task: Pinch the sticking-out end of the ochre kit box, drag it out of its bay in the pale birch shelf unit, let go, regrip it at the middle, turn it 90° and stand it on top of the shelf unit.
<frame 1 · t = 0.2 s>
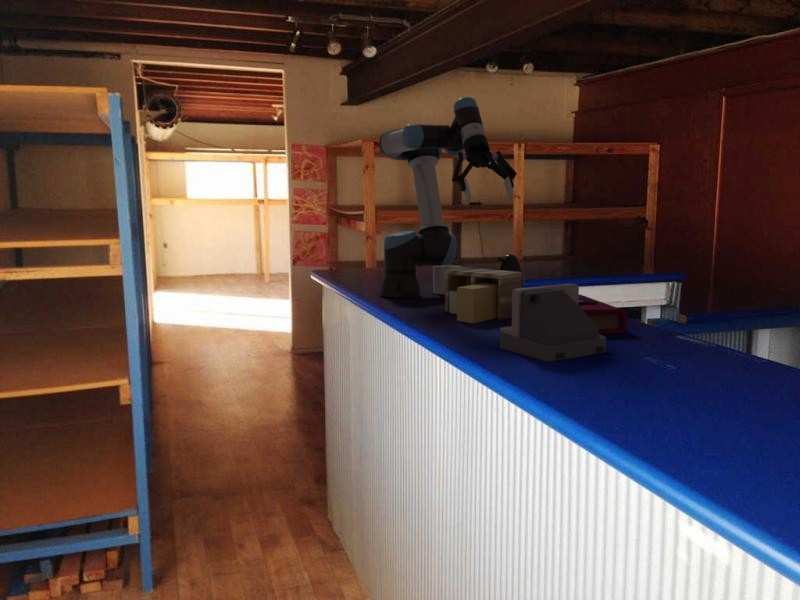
hand: (490, 198, 205), 35 cm above the counter, tool tilted 35°, fingers open, 13 cm apart
shelf unit: (481, 313, 213), on the counter
book: (568, 327, 194), on the counter
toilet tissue: (448, 293, 259), on the counter
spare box: (464, 312, 216), on the counter
kit box: (483, 318, 206), on the counter
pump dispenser: (509, 296, 250), on the counter
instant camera: (552, 351, 163), on the counter
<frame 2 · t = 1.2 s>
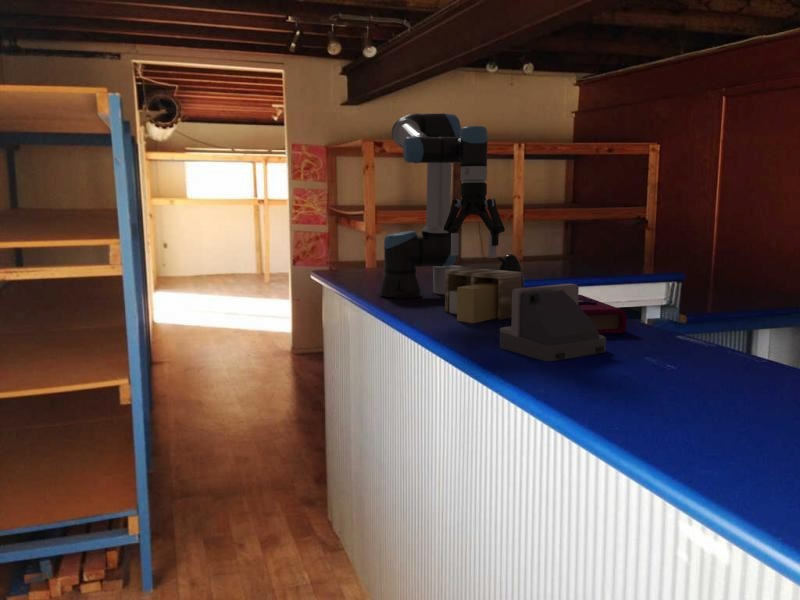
hand: (473, 256, 199), 19 cm above the counter, tool pointing down, fingers open, 13 cm apart
nothing on the counter moved.
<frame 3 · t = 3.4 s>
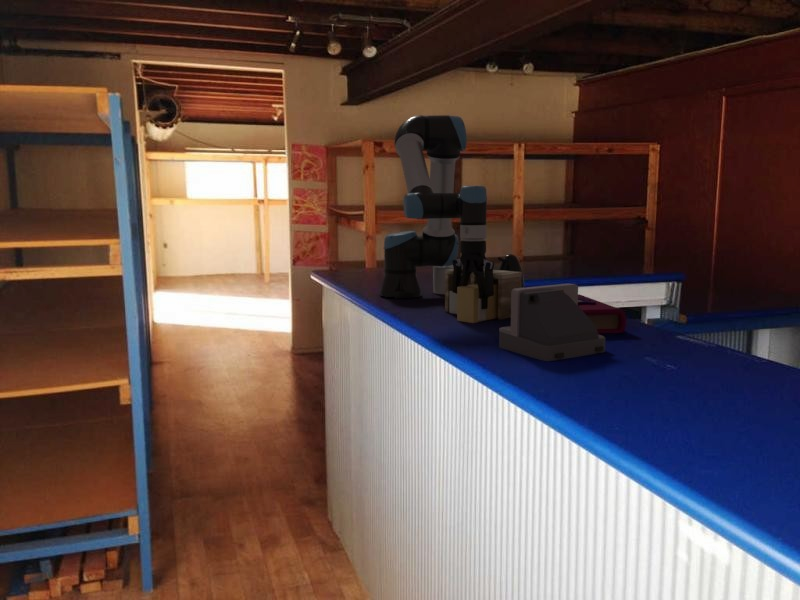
hand: (472, 318, 202), 0 cm above the counter, tool pointing down, fingers closed on kit box, 6 cm apart
kit box: (483, 317, 206), on the counter, touching gripper
everything else where it was.
when the fingers open (0 cm above the counter, at t = 6.1 s): kit box stays where it is, on the counter.
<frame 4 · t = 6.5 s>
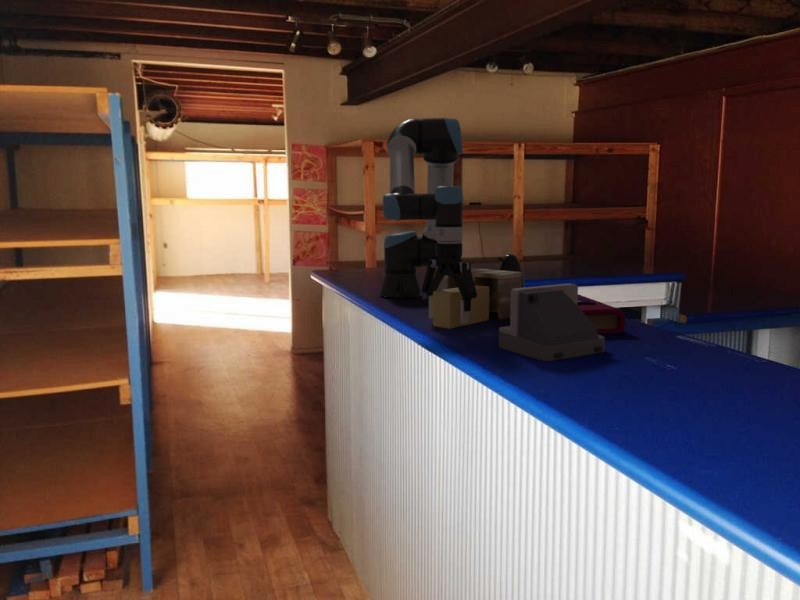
hand: (448, 320, 194), 1 cm above the counter, tool pointing down, fingers open, 11 cm apart
kit box: (461, 323, 198), on the counter
everything else where it was.
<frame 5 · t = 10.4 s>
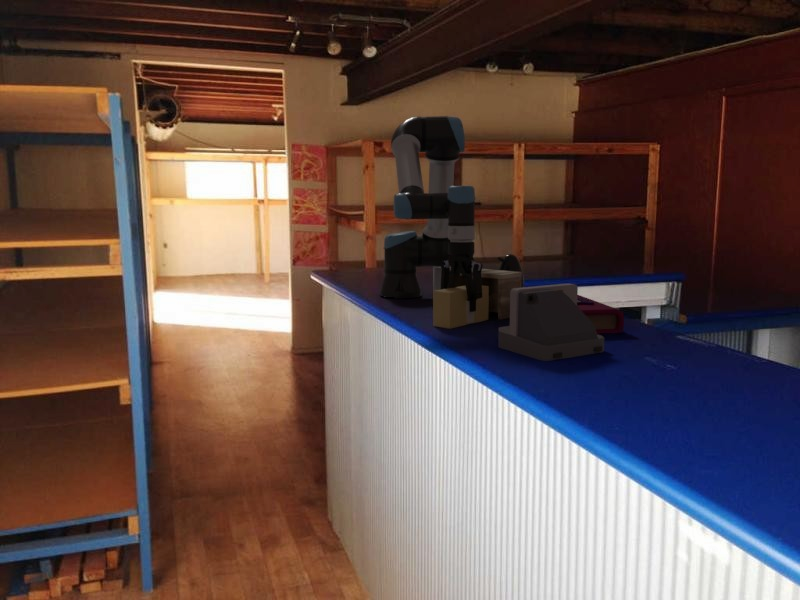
hand: (460, 321, 198), 0 cm above the counter, tool pointing down, fingers closed on kit box, 6 cm apart
kit box: (461, 322, 198), on the counter, touching gripper
everything else where it was.
when the fingers open (15 cm above the counter, at t = 15.9 s): kit box drops 1 cm, resting on shelf unit.
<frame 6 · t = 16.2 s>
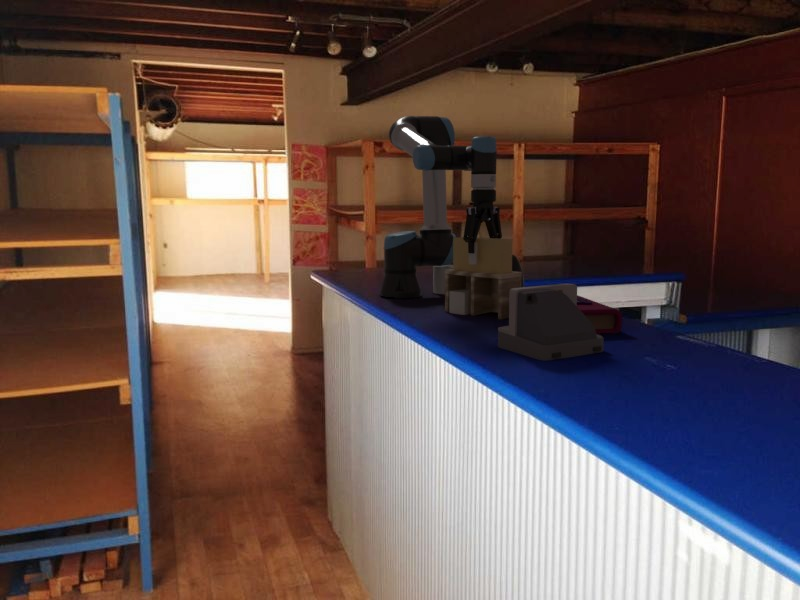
hand: (482, 262, 211), 16 cm above the counter, tool pointing down, fingers open, 9 cm apart
kit box: (482, 270, 212), point 13 cm above the counter, touching shelf unit
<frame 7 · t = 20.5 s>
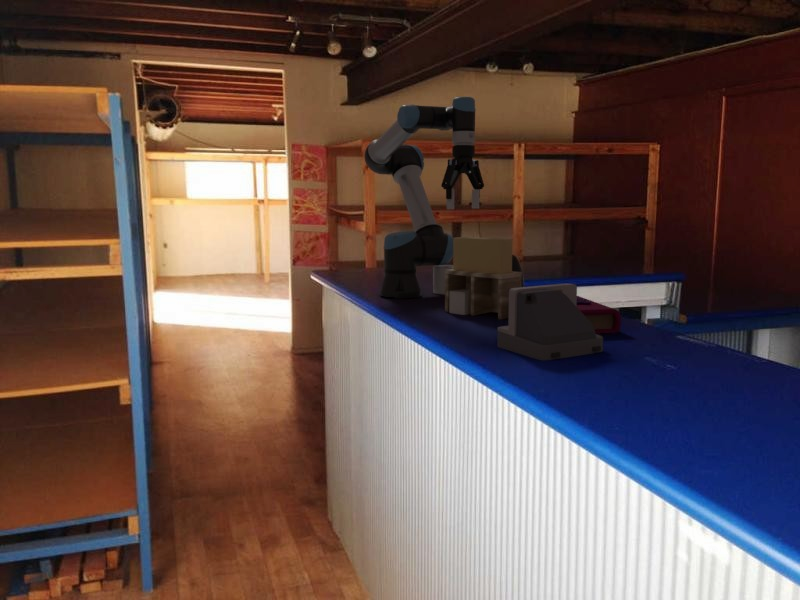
hand: (463, 208, 234), 32 cm above the counter, tool pointing down, fingers open, 13 cm apart
at the end: kit box inside the target area on the shelf unit (0.4 cm from its centre), point 13.2 cm above the shelf unit's base; kit box tilted 0°; the gripper is holding nothing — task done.
